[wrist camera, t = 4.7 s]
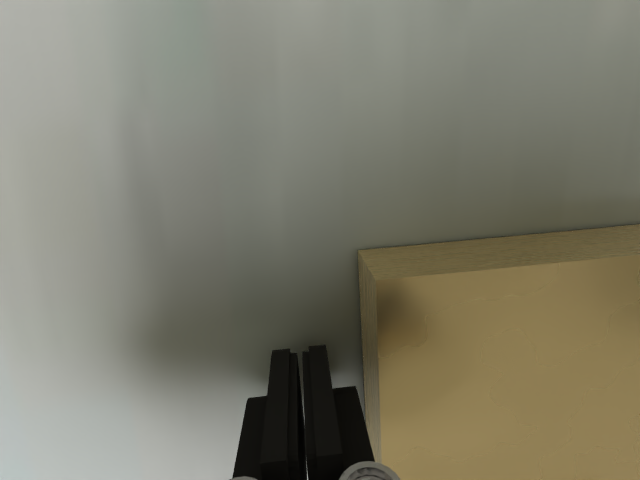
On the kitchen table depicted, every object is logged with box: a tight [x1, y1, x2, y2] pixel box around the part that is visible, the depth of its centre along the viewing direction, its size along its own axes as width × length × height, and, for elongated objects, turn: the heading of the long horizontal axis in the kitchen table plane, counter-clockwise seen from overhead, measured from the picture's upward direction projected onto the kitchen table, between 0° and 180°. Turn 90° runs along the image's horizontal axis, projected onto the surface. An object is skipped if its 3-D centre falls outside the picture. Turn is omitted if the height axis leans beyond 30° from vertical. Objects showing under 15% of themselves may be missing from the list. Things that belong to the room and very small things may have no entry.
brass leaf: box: [358, 224, 640, 480], centre depth 11 cm, size 16×13×4 cm
